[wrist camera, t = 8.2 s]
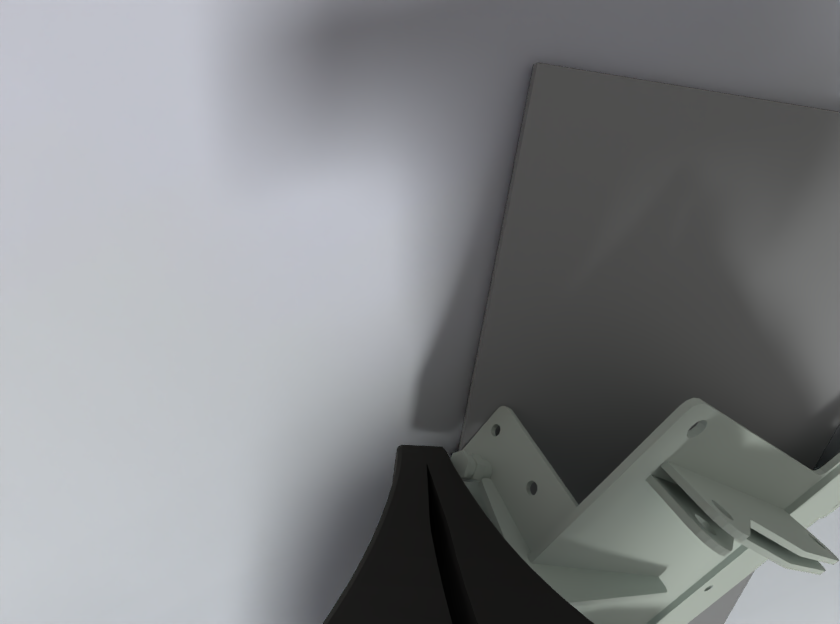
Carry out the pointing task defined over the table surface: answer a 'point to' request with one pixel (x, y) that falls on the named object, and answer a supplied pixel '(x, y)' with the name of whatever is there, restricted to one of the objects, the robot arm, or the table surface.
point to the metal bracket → (654, 515)
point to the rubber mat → (663, 274)
